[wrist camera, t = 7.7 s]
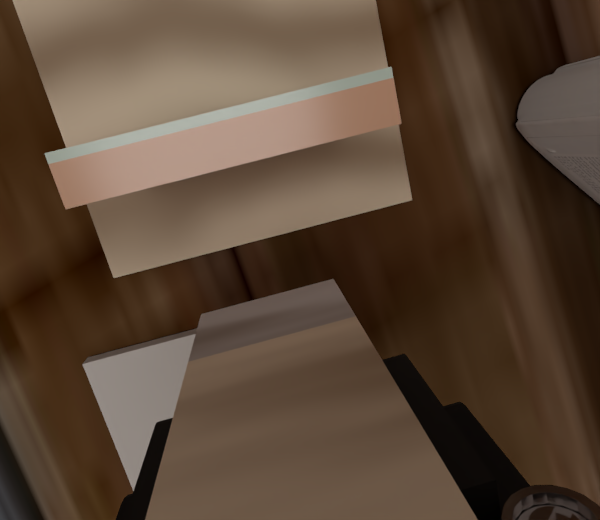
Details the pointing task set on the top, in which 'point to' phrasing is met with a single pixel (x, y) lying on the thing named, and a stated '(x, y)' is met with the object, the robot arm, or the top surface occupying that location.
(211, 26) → the oak board
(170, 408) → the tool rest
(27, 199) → the top surface
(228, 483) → the wooden block
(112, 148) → the tile
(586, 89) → the photo printer
